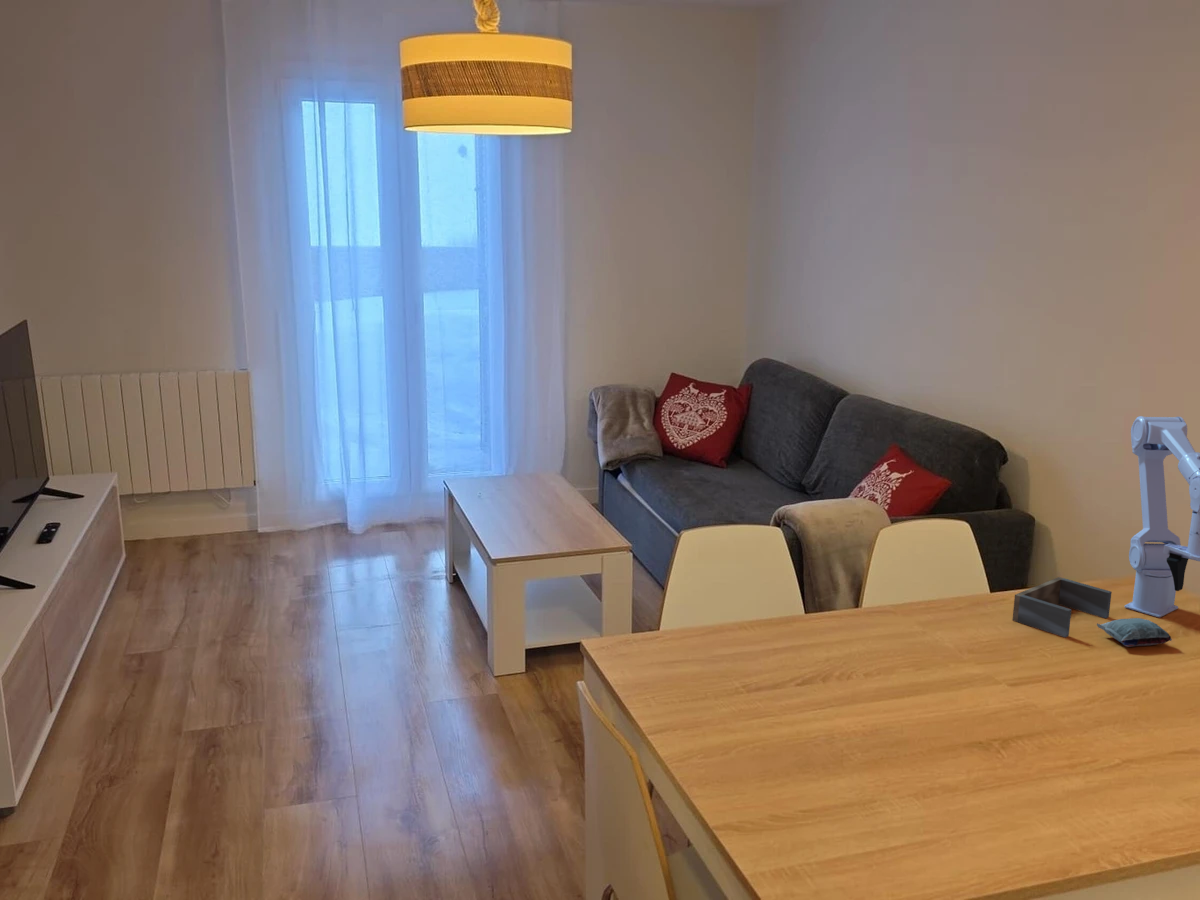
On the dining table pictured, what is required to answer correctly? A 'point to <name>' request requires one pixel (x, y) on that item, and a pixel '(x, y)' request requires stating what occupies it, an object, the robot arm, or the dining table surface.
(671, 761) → the dining table surface
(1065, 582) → the grey u-shaped bracket
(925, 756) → the dining table surface
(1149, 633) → the packaged food
